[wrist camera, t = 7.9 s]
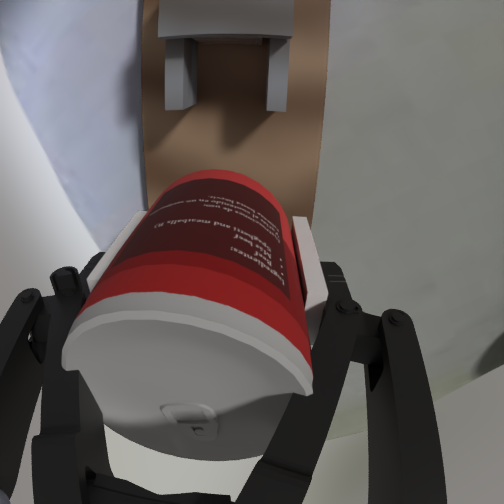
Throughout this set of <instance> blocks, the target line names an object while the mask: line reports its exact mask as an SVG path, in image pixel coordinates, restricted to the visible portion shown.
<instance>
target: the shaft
mask: <svg viewBox="0 0 504 504" xmlns="http://www.w3.org/2000/svg"><path fill="white" fill-rule="evenodd" d="M192 39H194V40H196V41H198V42H200V43H201V44H203V45H210V44H246V45H262V37H195V38H192Z"/></svg>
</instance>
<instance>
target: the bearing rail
mask: <svg viewBox="0 0 504 504" xmlns="http://www.w3.org/2000/svg"><path fill="white" fill-rule="evenodd" d="M330 5H331V0H144V5H143V25H142V67H141V79H142V123H143V144H144V161H145V174H146V187H147V198H148V208H149V209H150V208H151V206H152V205H153V204H154V203H155V201H156V200H157V199H158V197H159V196H160V195H161V194H162V192H163V191H164V190H165V189H167V188H168V187H169V186H170V185H171V184H172V183H173V182H175V181H176V180H178V179H180V178H181V177H183V176H185V175H188V174H191V173H194V172H197V171H201V170H210V169H219V170H229V171H233V172H237V173H240V174H243V175H246V176H247V177H249V178H251V179H253V180H255V181H257V182H259V183H260V184H261V185H262V186H264V187H265V188H266V189H267V190H268V191H270V192H271V193H272V195H273V196H274V197H275V198H276V200H277V201H278V202H279V203H280V205H281V207H282V209H283V211H284V213H285V215H286V217H287V219H288V223H289V227H290V231H291V225H292V216H296V217H307V220H308V224H309V227H310V230H311V224H312V217H313V209H314V201H315V193H316V184H317V176H318V167H319V158H320V148H321V138H322V128H323V117H324V105H325V93H326V80H327V65H328V49H329V30H330ZM195 37H262V45H246V44H210V45H203V44H201V43H200V42H198V41H196V40H194V39H192V38H195Z"/></svg>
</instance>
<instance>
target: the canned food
mask: <svg viewBox="0 0 504 504" xmlns="http://www.w3.org/2000/svg"><path fill="white" fill-rule="evenodd" d="M310 352H311V346H310V339H309V333H308V327H307V321H306V315H305V309H304V303H303V297H302V291H301V285H300V280H299V274H298V268H297V263H296V257H295V252H294V247H293V241H292V236H291V231H290V227H289V223H288V219H287V217H286V215H285V213H284V211H283V209H282V207H281V205H280V203H279V202H278V201H277V200H276V198H275V197H274V196H273V195H272V193H271V192H270V191H268V190H267V189H266V188H265V187H264V186H262V185H261V184H260V183H259V182H257V181H255V180H253V179H251V178H249V177H247V176H246V175H243V174H240V173H237V172H233V171H229V170H219V169H210V170H201V171H197V172H194V173H191V174H188V175H185V176H183V177H181V178H180V179H178V180H176V181H175V182H173V183H172V184H171V185H170V186H169V187H168V188H167V189H165V190H164V191H163V192H162V194H161V195H160V196H159V197H158V199H157V200H156V201H155V203H154V204H153V205H152V206H151V208H150V209H149V210H148V212H147V213H146V214H145V216H144V217H143V218H142V220H141V221H140V222H139V224H138V225H137V226H136V228H135V229H134V230H133V232H132V233H131V235H130V236H129V237H128V239H127V240H126V241H125V243H124V244H123V246H122V247H121V248H120V250H119V251H118V253H117V254H116V256H115V257H114V258H113V260H112V261H111V263H110V264H109V266H108V267H107V269H106V270H105V272H104V273H103V275H102V276H101V278H100V279H99V281H98V282H97V284H96V285H95V287H94V288H93V290H92V291H91V293H90V294H89V296H88V298H87V300H86V302H85V304H84V305H83V307H82V309H81V310H80V312H79V314H78V315H77V317H76V319H75V320H74V322H73V325H72V327H71V329H70V331H69V333H68V337H67V339H66V342H65V344H64V346H63V349H62V367H63V368H64V369H65V370H66V371H70V370H79V371H80V373H81V375H82V376H83V378H84V380H85V382H86V383H87V385H88V387H89V389H90V391H91V392H92V394H93V396H94V398H95V400H96V402H97V404H98V406H99V408H100V410H101V411H102V413H103V423H104V424H105V425H106V426H108V427H109V428H110V429H112V430H113V431H115V432H116V433H118V434H120V435H122V436H123V437H125V438H127V439H129V440H131V441H133V442H135V443H138V444H140V445H142V446H144V447H147V448H150V449H153V450H155V451H158V452H161V453H165V454H169V455H173V456H177V457H181V458H188V459H195V460H206V461H207V460H208V461H229V460H240V459H246V458H251V457H257V456H260V455H264V453H265V451H266V449H267V447H268V445H269V443H270V441H271V439H272V437H273V435H274V433H275V431H276V429H277V426H278V424H279V422H280V420H281V418H282V416H283V414H284V412H285V410H286V407H287V405H288V403H289V401H290V399H291V396H292V394H293V393H297V394H301V395H304V396H308V395H310V394H313V389H312V381H313V371H312V364H311V356H310Z"/></svg>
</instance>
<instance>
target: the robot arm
mask: <svg viewBox="0 0 504 504" xmlns="http://www.w3.org/2000/svg"><path fill="white" fill-rule="evenodd" d="M147 212H148V211H137V213H136V214H135V215H134V216H133V218H132V219H131V220H130V221H129V223H128V224H127V225H126V227H125V228H124V229H123V230H122V232H121V233H120V234H119V236H118V237H117V238H116V240H115V241H114V242H113V243H112V245H111V246H110V247H109V249H108V250H107V251H106V252H99V253H98V254H96V255H95V256H93V257H92V258H91V259H90V261H89V262H88V264H87V265H86V266H85V267H84V269H83V270H82V271H81V273H80V274H78V270H77V269H76V268H75V267H70V266H69V267H62V268H60V269H57V270H56V271H54V272H53V273H52V274H51V276H50V280H51V283H52V286H53V289H54V292H55V295H53V296H46V297H42V296H41V294H40V291H39V290H38V289H34V288H30V289H26V290H24V291H22V292H21V293H19V294H18V296H17V297H16V299H15V300H14V302H13V303H12V305H11V307H10V308H9V310H8V312H7V313H6V315H5V317H4V318H3V320H2V322H1V324H0V504H10V501H9V500H10V498H11V496H12V493H13V490H14V488H15V485H16V481H17V477H18V473H19V468H20V463H21V459H22V455H23V450H24V446H25V442H26V438H27V434H28V431H29V427H30V423H31V420H32V416H33V412H34V409H35V406H36V402H37V399H38V396H39V393H40V390H41V387H42V400H41V430H40V434H39V435H37V436H34V437H33V439H32V445H31V454H32V482H33V496H34V504H302V502H303V500H304V497H305V495H306V493H307V490H308V487H309V485H310V482H311V480H312V474H313V471H314V469H315V466H316V464H317V461H318V458H319V456H320V453H321V450H322V447H323V445H324V442H325V439H326V437H327V434H328V431H329V428H330V425H331V422H332V419H333V416H334V413H335V410H336V407H337V404H338V400H339V397H340V394H341V391H342V387H343V384H344V381H345V377H346V374H347V370H348V367H349V363H350V361H353V362H358V363H362V364H364V372H365V385H366V400H367V419H368V447H369V448H368V452H369V492H368V504H447V495H446V484H445V475H444V467H443V459H442V452H441V445H440V439H439V433H438V427H437V421H436V416H435V411H434V406H433V401H432V396H431V391H430V387H429V382H428V378H427V374H426V370H425V365H424V361H423V357H422V354H421V350H420V346H419V342H418V339H417V335H416V332H415V328H414V325H413V321H412V319H411V318H410V316H409V315H408V314H406V313H405V312H403V311H401V310H397V309H388V310H386V311H384V312H383V314H382V316H381V317H379V316H375V315H371V314H368V313H365V312H363V311H362V308H361V306H360V305H359V304H358V303H357V302H356V301H354V300H352V297H351V294H350V292H349V289H348V286H347V283H346V280H345V278H344V275H343V272H342V269H341V268H340V267H339V266H338V265H337V264H336V263H335V262H320V261H319V258H318V254H317V251H316V247H315V244H314V240H313V237H312V234H311V230H310V227H309V224H308V220H307V217H296V216H292V225H291V236H292V241H293V247H294V252H295V257H296V263H297V268H298V274H299V280H300V285H301V291H302V297H303V303H304V309H305V315H306V321H307V327H308V333H309V339H310V345H313V348H312V350H311V352H310V356H311V364H312V371H313V381H312V389H313V394H310V395H308V396H304V395H301V394H297V393H293V394H292V396H291V399H290V401H289V403H288V405H287V407H286V410H285V412H284V414H283V416H282V418H281V420H280V422H279V424H278V426H277V429H276V431H275V433H274V435H273V437H272V439H271V441H270V443H269V445H268V447H267V449H266V451H265V453H264V455H263V457H262V458H261V459H260V460H259V461H258V462H257V464H256V465H255V467H254V469H253V471H252V472H251V474H250V476H249V478H248V480H247V482H246V483H245V485H244V487H243V489H242V491H241V493H240V494H239V496H238V498H237V500H236V501H235V502H232V501H231V497H230V495H219V494H207V493H198V492H192V493H181V494H167V495H159V494H155V493H153V492H151V491H148V490H146V489H144V488H142V487H140V486H138V485H135V484H133V483H131V482H129V481H127V480H123V479H119V478H115V477H114V475H113V473H112V471H111V468H110V464H109V459H108V452H107V446H106V439H105V431H104V423H103V413H102V411H101V410H100V408H99V406H98V404H97V402H96V400H95V398H94V396H93V394H92V392H91V391H90V389H89V387H88V385H87V383H86V382H85V380H84V378H83V376H82V375H81V373H80V371H79V370H70V371H66V370H65V369H64V368H63V367H62V349H63V346H64V344H65V342H66V339H67V337H68V333H69V331H70V329H71V327H72V325H73V322H74V320H75V319H76V317H77V315H78V314H79V312H80V310H81V309H82V307H83V305H84V304H85V302H86V300H87V298H88V296H89V294H90V293H91V291H92V290H93V288H94V287H95V285H96V284H97V282H98V281H99V279H100V278H101V276H102V275H103V273H104V272H105V270H106V269H107V267H108V266H109V264H110V263H111V261H112V260H113V258H114V257H115V256H116V254H117V253H118V251H119V250H120V248H121V247H122V246H123V244H124V243H125V241H126V240H127V239H128V237H129V236H130V235H131V233H132V232H133V230H134V229H135V228H136V226H137V225H138V224H139V222H140V221H141V220H142V218H143V217H144V216H145V214H146V213H147ZM29 333H30V336H31V337H30V339H29V340H28V336H29ZM42 384H43V385H42Z"/></svg>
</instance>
